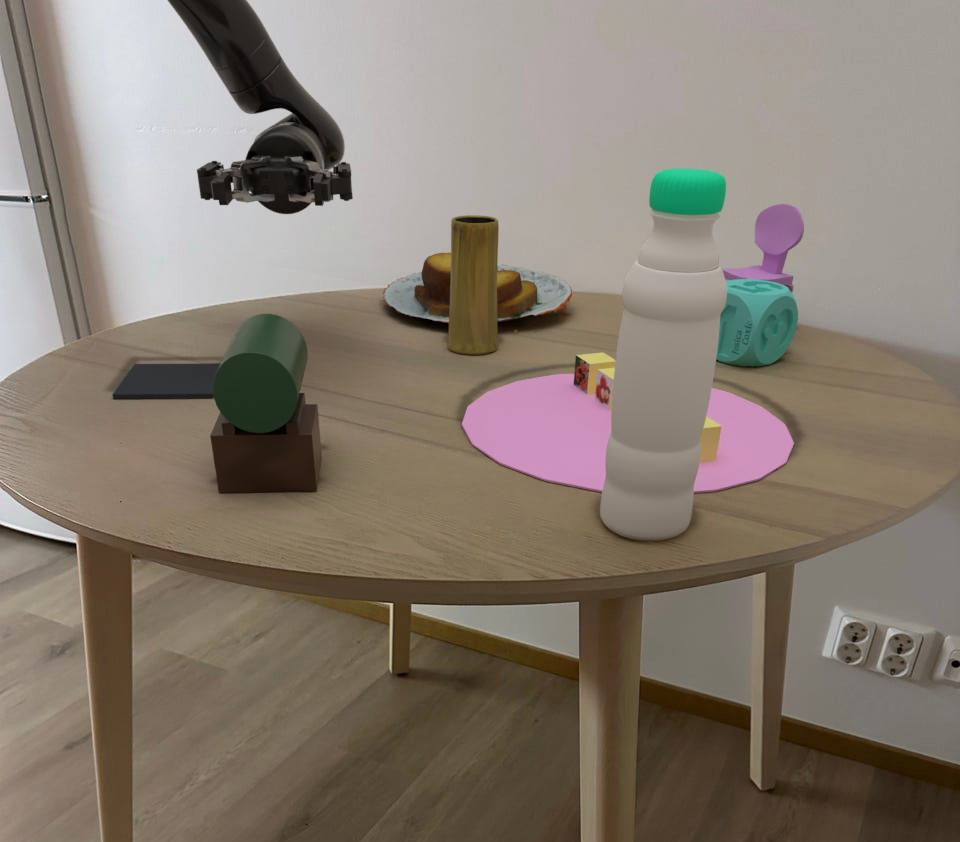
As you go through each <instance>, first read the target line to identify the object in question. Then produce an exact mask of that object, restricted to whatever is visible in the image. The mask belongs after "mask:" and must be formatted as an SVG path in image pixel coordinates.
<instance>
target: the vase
mask: <svg viewBox="0 0 960 842" xmlns="http://www.w3.org/2000/svg"><path fill="white" fill-rule="evenodd" d="M450 226H451V227H450V228H451V229H450V233H451V234H450V253H451V282H450V311H449V323H448V338H447V342H446V346H447V348H448V350H449V351H451V352H453V353H456V354H461V355H467V356H468V355H469V356H480V355H488V354H492V353H494V352H495V351H497V350H498V349H499V338H498V337H499V336H498V322H497V265H498V259H499V258H498V257H499V256H498V255H499V254H498V253H499V229H500V228H499V220H498V219H497V218H496V217H494V216H488V215H478V214H477V215H471V214H469V215H458V216H455V217H452V218H451V221H450Z"/></svg>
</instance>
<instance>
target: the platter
mask: <svg viewBox="0 0 960 842" xmlns="http://www.w3.org/2000/svg"><path fill="white" fill-rule="evenodd" d="M615 361H616V359H614V358H613V357H611V356H609V355H608V354H606V353H605V352H602V351H601V352H593V353H582V354H575V361H574V362H575V363H574V372H573V373H556V374H555V373H554V374H549V375H544V376H538V377H533V378H526V379H521V380H515V381H514V382H510V383H508V384H505V385H502V386H499V387H496V388H493V389H490V390H488V391H486V392H485V393H483V394H482V395H481V396H480V397H478V398H477V399H475V400H474V401H473V402H472V403H470V404H468V405H467V407H466V410H465V413H464V416H463V419H462V423H461V427H462V429H463V431H464V433H465V434H466V437H467V438H468V440H469V442H470V444H471V446H473V448H475V449H476V450H479V451H480V452H481V453H483V454H484V455H486V456H487V457H488V458H490V459H491V460H492V461H494V462H495V463H497V464H499V465H500V466H503V467H506V468H509V469H511V470H514V471H516V472H519V473H522V474H524V475H527V476H530V477H533V478H535V479H537V480H540V481H544V482H548V483H553V484H558V485H564V486H567V487H573V488H578V489H583V490H588V491H593V492H599V493H602V490H603V485H604V481H605V478H606V467H605V461H606V450H607V444H608V440H609V436H610V434H611V408H612V392H613V381H614V370H615ZM700 444H701V455H700V463H699V468H698V473H697V476H696V479H695V482H694V494H700V493H701V494H702V493H715V492H719V491H723V490H727V489H731V488H735V487H738V486H742V485H746V484H749V483H750V484H751V483H754V482H757V481H760V480H762V479H763V478H765V477H767V476H769V475H770V474H772V473H773V472H775V471H777V470H778V469H780V468H781V467H784V466H785V465H786V464H787V462H788V460H789V458H790V454H791V453H792V450H793V448H794V446H793V445H795V442H794V439H793V438H792V436H791V433H790V432H789V430H788V427H787V425H786V424H785V423H784V422H783V421H782V420H780V419H779V418H778V417H776V416H775V415H774V414H773V413H772V412H769V410H768V409H766V408H765V407H763V406H762V405H759V404H757V403H755V402H752V401H750V400H747V399H745V398H743V397H741V396H739V395H736V394H734V393H732V392H729V391H725V390H721V389H718V388H715V387H712V389H711V395H710V400H709V405H708V410H707V415H706V420H705V424H704V428H703V431H702V435H701V438H700ZM776 469H777V470H776Z"/></svg>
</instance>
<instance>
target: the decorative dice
mask: <svg viewBox="0 0 960 842" xmlns="http://www.w3.org/2000/svg"><path fill="white" fill-rule="evenodd" d="M726 285H727V299H726V303H725V307H724V309H723V311H722V312H721V314H720V329H719V340H718V349H717V357H716V361H717V360H718V361H717V362H720V363H723V364H726V363H727V365H731V366H736V365H737V366H739V367H747V366H751V368H752V367H754V366H757V367H765V366H770V365H772V364H773V363H775V362H776V361H778V360H779V359H780V358H781V357H782V356H784V354H785V353H786V352H787V350H788V348H789V347H790V345H791V344H792V341H793V339H794V336H795V335H796V334H795V333H796V330H797V327H798V321H799V309H798V305H797V301H796V299H795V297H794V294H793V292H792V293H791V291H790V290H789V288H788V287H786V286H784V285H782V284H779V283H775V282H771V281H765V280H755V279H734V280H728V281H726ZM754 368H755V367H754Z"/></svg>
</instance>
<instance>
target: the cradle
mask: <svg viewBox="0 0 960 842" xmlns="http://www.w3.org/2000/svg"><path fill="white" fill-rule="evenodd" d="M319 418H320V417H319V407H318V404H317V403H306V394H305V392H300V393H299V397H298V401H297V405H296V409H295V411H294V414H293V415H292V417H291V418H290V420H289V421H288V422H287V423H286V424H285V425H283V426H282V427H280V428H278V429H276V430H274V431H271V432H267V433H253V432H248V431H245V430H242V429H240V428H238V427H236V426H234V425H233V424H231V423H230V422H229V421H228V420H227V419H226V418H225V417H224V416H223V415H222V414H221V412H220V411H219V413H218V416H217V419H216V421H215V423H214V426H213V428H212V430H211V433H210V436H209V437H210V443H211V451H212V457H213V464H214V471H215V477H216V484H217V489H218V493H219V494H226V493H227V494H234V493H235V494H237V493H238V494H239V493H241V494H242V493H295V492H296V493H298V492H303V493H304V492H317V491H318V486H319V478H320V473H321V465H322V459H323V456H322V455H323V454H322V443H321V432H320V431H321V430H320V419H319Z"/></svg>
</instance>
